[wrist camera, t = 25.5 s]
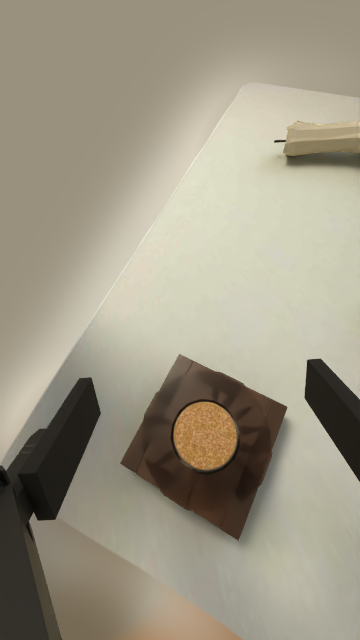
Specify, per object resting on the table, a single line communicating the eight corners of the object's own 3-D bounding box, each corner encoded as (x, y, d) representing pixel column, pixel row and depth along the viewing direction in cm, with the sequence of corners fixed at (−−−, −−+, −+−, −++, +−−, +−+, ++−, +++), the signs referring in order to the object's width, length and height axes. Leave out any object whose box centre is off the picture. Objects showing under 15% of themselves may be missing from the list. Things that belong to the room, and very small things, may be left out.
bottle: (225, 467, 32) (240, 488, 18) (177, 456, 33) (158, 468, 19) (231, 416, 34) (249, 402, 21) (187, 407, 35) (175, 387, 22)
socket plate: (127, 461, 33) (117, 464, 30) (181, 360, 38) (178, 351, 34) (235, 531, 30) (239, 544, 26) (281, 409, 34) (290, 406, 31)
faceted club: (420, 171, 47) (271, 174, 51) (404, 153, 52) (269, 157, 57) (455, 108, 40) (280, 118, 45) (432, 94, 45) (277, 104, 50)
